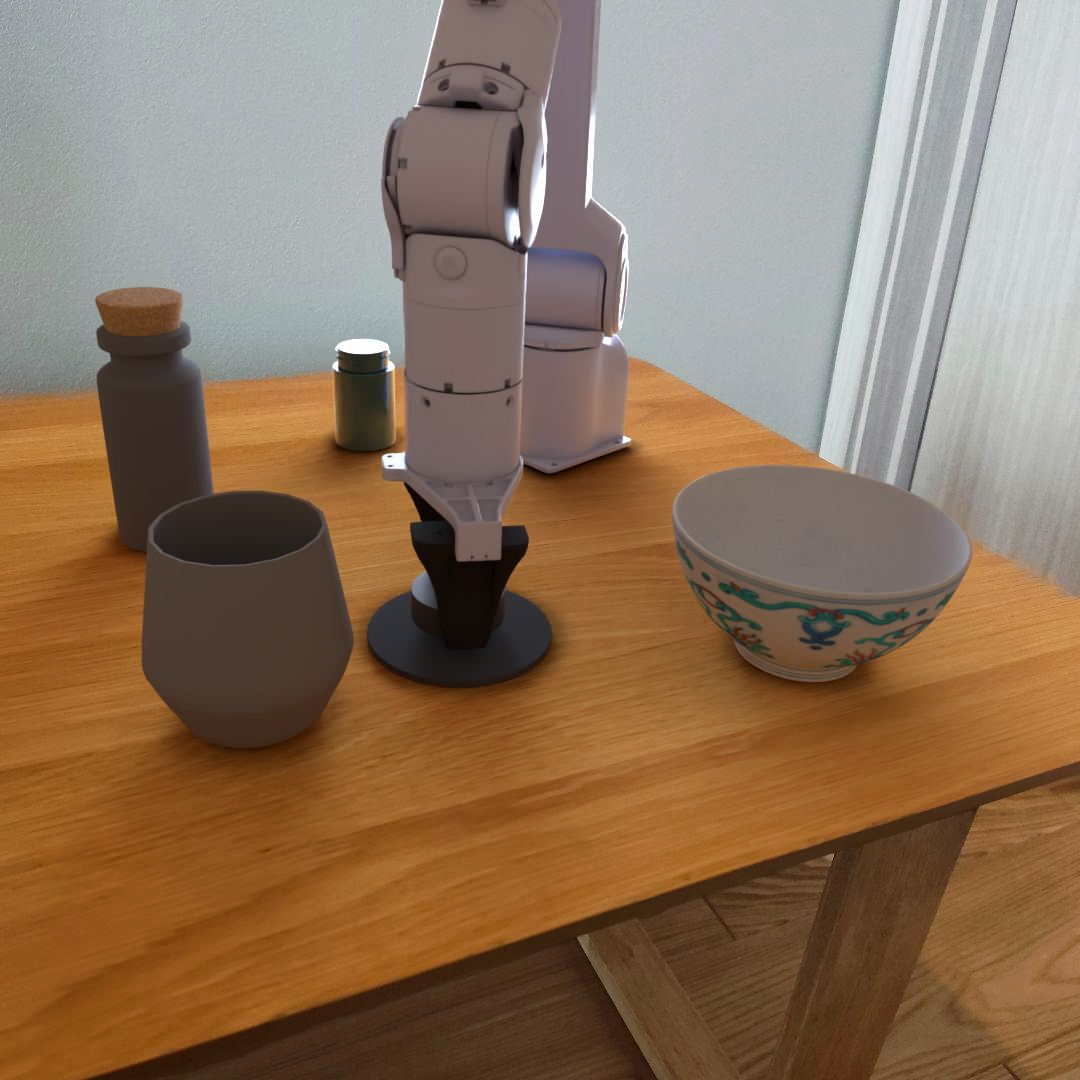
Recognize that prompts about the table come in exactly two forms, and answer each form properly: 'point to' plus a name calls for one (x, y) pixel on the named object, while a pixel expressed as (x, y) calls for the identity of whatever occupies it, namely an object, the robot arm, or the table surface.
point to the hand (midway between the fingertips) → (460, 616)
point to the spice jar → (364, 395)
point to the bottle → (150, 408)
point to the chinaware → (815, 565)
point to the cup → (244, 616)
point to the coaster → (434, 664)
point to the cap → (427, 611)
